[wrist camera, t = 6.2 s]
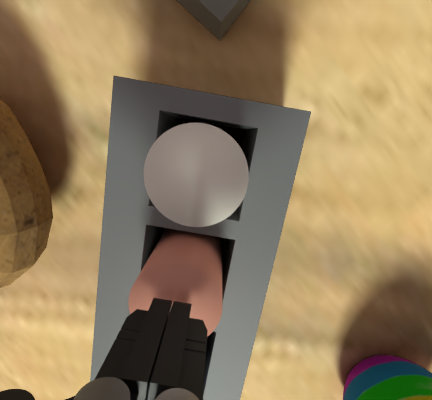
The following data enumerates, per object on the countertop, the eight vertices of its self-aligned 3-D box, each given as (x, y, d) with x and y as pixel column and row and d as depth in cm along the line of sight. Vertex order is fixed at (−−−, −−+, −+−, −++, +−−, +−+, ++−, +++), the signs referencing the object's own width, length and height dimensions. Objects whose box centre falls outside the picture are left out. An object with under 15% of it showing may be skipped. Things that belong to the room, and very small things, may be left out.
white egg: (176, 121, 16) (149, 113, 10) (244, 133, 16) (258, 133, 10) (167, 188, 16) (138, 217, 11) (231, 199, 17) (237, 234, 11)
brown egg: (163, 213, 17) (133, 256, 11) (227, 224, 17) (230, 272, 11) (156, 270, 18) (124, 338, 12) (216, 281, 18) (213, 352, 12)
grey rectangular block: (148, 94, 18) (113, 75, 12) (282, 119, 18) (311, 111, 12) (124, 324, 22) (89, 393, 16) (232, 342, 22) (235, 415, 16)
